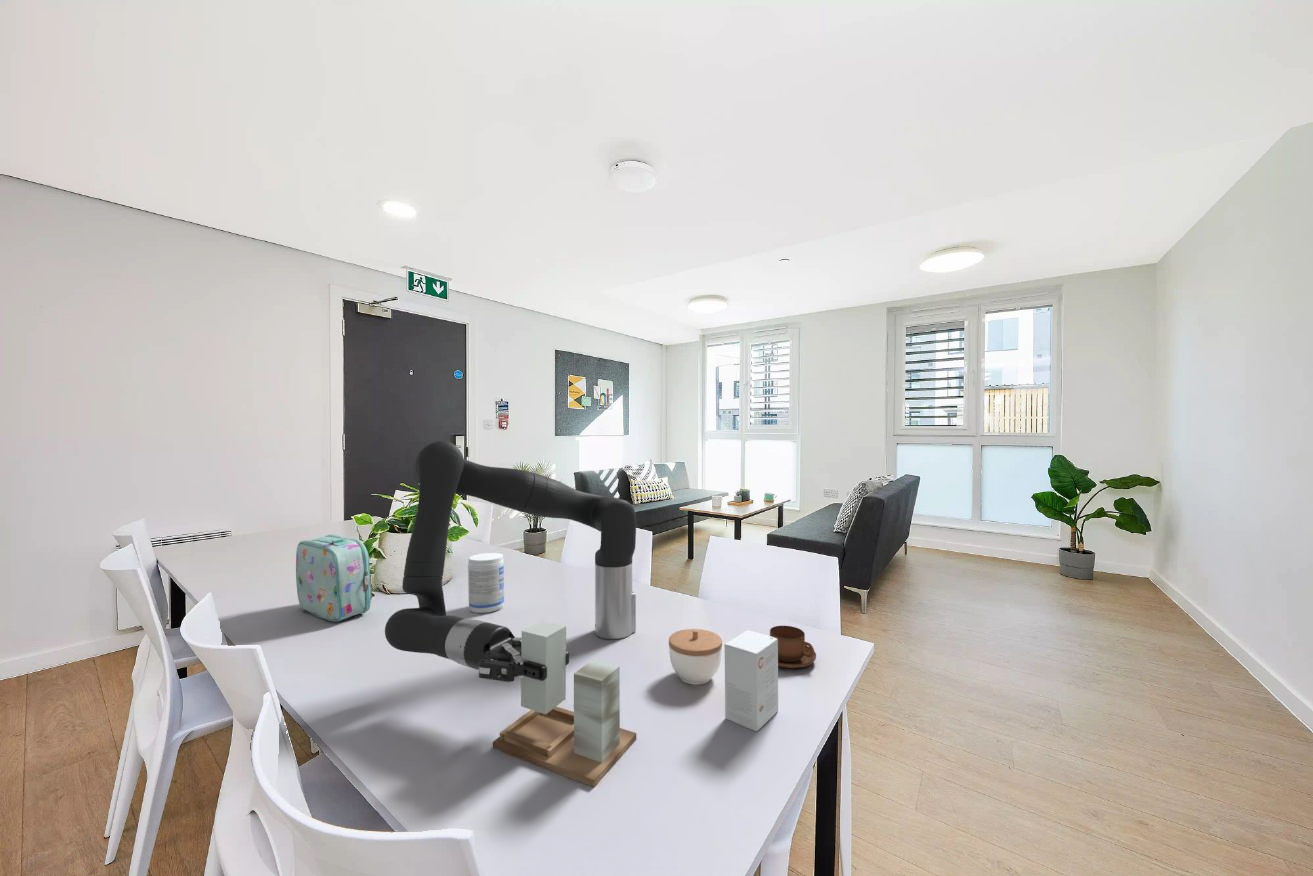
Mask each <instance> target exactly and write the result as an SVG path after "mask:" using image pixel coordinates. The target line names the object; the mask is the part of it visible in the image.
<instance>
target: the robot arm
mask: <svg viewBox="0 0 1313 876" xmlns="http://www.w3.org/2000/svg"><path fill="white" fill-rule="evenodd" d="M410 469H411V474H412V477H413V479H414V480H415V482H417V483H418V485H419V486H418V487H419V488H418V489H419V491H418V492H419V494H418V501H417V503H418V504H417V510H416V516H415V519H414V523H413V528H412V531H411V535H410V539H409V542H408V547H407V553H406V557H405V563H404V571H403V576H402V577H403V578H402V585H401V587H402V588H401V589H402V590H403V592H404V593H406V594H409V595H412V596H415V597H416V598H417V601H418V607H414V608H413V607H410V608H402V609H400V610H397V611H395V612H394V613H393V614H392V615H391V616H390V617H389V618H388V620H387V622H386V623H385V627H384V636H385V639H386V641H387V643H388V644H389V645H390V646H391V647H393V648H394V649H396V650H398V651H403V652H408V653H419V654H431V655H436V656H437V657H441V658H444V659H448V660H450V661H453V662H455V663H457V664H458V665H461V666H463V667H468V668H471V669H474V670H478V678H480V679H484V680H492V681H500V682H508V683H511V682H514V681H515V678H516V677H517V678H520V679H521V678H523V677H525V676H526V677H529V678H533V679H537V680H540V681H543V680H545V679H546V678H547V666H545V665H543V664H539V663H536V662H532V661H527V662H526V660H525V659H523V658H521V640H522V637H517V636H515V635H514V634H513V632H512V630H510V628H508V627H507V626H504V625H500V624H495V623H491V622H487V621H483V620H478V619H469V618H465V617H461V616H455V615H447V610H446V603H445V595H444V589H443V578H444V577H443V576H444V571H445V564H446V563H445V562H446V553H447V544H448V536H449V535H448V534H449V528H450V527H449V526H450V520H451V514H452V509H453V506H454V505H453V504H454V499H455V495H456V494H458V495H459V494H460V495H465V496H468V497H469V496H470V497H473V498H476V499H480V500H482V501H486V502H489V503H492V504H494V505H496V506H497V505H498V506H501V507H504V508H507V509H511V510H514V511H517V512H522V513H525V514H529V515H532V516H535V517H537V516H538V517H540V518H541V517H542V518H552V519H564V520H571V521H573V522H576V523H580V524H583V525H585V526H588V527H590V528H592V529H595V530H597V531H599V532H600V545H599V546H600V547H599V549H598V550H596V552H595V553H594V602H595V603H594V609H595V610H594V611H595V612H594V622H595V623H594V633H595V635H596V636H597V637H599V638H601V639H605V640H619V639H623V638H627V637H629V636H631V635H632V634H633V633H636V631H637V618H636V617H637V612H636V611H637V610H636V609H637V604H636V603H637V601H636V600H637V599H636V598H637V594H636V592H634V591H633V556H634V553H635V550H636V541H637V539H636V537H637V516H636V511H635V508H634V506H633V505H632V504H631V503H630V502H628V501H627V500H625V499H622V498H618V497H613V496H608V495H607V496H605V495H601V494H600V495H598V494H594V493H589V492H584V491H580V490H577V489H575V488H574V487H573V488H572V487H571V486H569V485H567V484H566V483H563V482H561V481H558V480H556V479H553V478H552V477H548V476H546V475H542V474H539V473H536V472H532V471H529V470H524V469H518V468H510V467H509V468H508V467H497V466H489V465H482V464H479V463H476V462H473V461H471V460H469V459H465V458H464V456H463V453H462V452H461V450H460V448H459V447H458V446H457V445H455V444H454V443H452V442H450V441H447V440H436V441H432V442H430V443H428V444H426V445H425V446H424V447H423V448H421V449H420V450H419V452H418V453H417V454H416V456H415V457H414V459H413V461H412V462H411V468H410ZM569 664H570V652H569V651H568V650H566V666H568V665H569ZM502 671H503V672H505V673H506V674H505V673H502Z"/></svg>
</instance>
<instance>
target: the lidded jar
mask: <svg viewBox="0 0 1313 876" xmlns="http://www.w3.org/2000/svg"><path fill="white" fill-rule="evenodd" d="M668 645H669V646H668V648H669V649H668V650H669V659H670V663H671V667H672V669H673V670H674V672H675V674H676V675H677V676H678V677H679V678H680V680H681V681H682V682H683V683H685V684H687V685H694V686H695V685H696V686H699V685H704V684H707V683H709V682H710V681H711V679H712V678H713V677H714V676H715V675H716V673H717V672H718V670H719V668H720V664H721V661H722V647H723V639H722V637H721V636H720V635H719V634H717V633H715V632H714V631H710V630H707V629H701V628H686V629H680V630H677V631H675V632H673V633H671V635H670V636H669V637H668Z"/></svg>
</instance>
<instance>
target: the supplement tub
mask: <svg viewBox="0 0 1313 876" xmlns="http://www.w3.org/2000/svg"><path fill="white" fill-rule="evenodd" d="M504 563H505V562H504V556H503V554H502V553H498V552H484V553H478V554H474V555H471V556H469V557H468V563H467V564H468V565H467V572H468V573H467V576H468V577H467V578H468V579H467V580H468V581H467V582H468V584H467V585H468V593H467V594H468V609H469V611H470V612H473V613H476V614H486V613H492V612H495V611H498V610H500V609H502V608H503V607H504V605H505V570H504V569H505V566H504V565H505V564H504Z"/></svg>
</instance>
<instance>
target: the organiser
mask: <svg viewBox="0 0 1313 876" xmlns="http://www.w3.org/2000/svg"><path fill="white" fill-rule="evenodd" d="M620 668H621V667H620V666H619V665H615V664H611V663H607V662H604V661H599V660H595V659H592V660H590V661H589V662H588V663H586V664H584V665H583V666H582V667H581V668H579V669H577V670H576V671H575V672H574V673H573V711H572V710H569V709H566V708H562V707H559V706H558V705H557V706H556V707H555V708H553V709H552V710H551V711H550V712H548V713H547V714H543V713H540V712H537V711H534V710H531V709H529V711H527V712H526V713H524V714H523V715H521V716H520V717H519V718H518V719H516V720H515V721H513V723H511V724H509V725H508V726H506V728H504V729H503V730H502V731H500V732H499V736H498V737H497V738H496V739H494V740H493V741H492V749H494V750H496V751H498V752H499V751H500V752H501V753H504V754H507V755H509V756H512V757H513V758H514V757H515V758H516V759H520V760H521V761H525V762H527V763H530V764H533V765H535V766H538V767H541V768H543V769H546V770H548V771H551V772H553V773H556V774H559V775H561V776H564V777H567V778H569V779H572V780H574V781H577V782H580V783H582V784H584V785H587V786H589V787H592V788H595V787H596V786H597V785H598V784H599V783H600V781H602V779H603V778H604V777H605V776H606V775H607V773H609V771H610V770H611V769H612V768H613V767H614V765H616V763H617V762H618V761H619V760H620V759H621V758H622V756H623V755H624V754H625V753H626V752H627V751H628V750H629V749H630V747H631V746H632V745H633V744H634V743H635V741H636V740H637V732H634V731H631V730H627V729H624V728H621V725H620V724H621V723H620V722H621V719H620V717H621V716H620V714H621V712H620V711H621V709H620V708H621V707H620V705H621V704H620V699H621V698H620V697H621V695H620V694H621V693H620V691H621V690H620V689H621V687H620V685H621V683H620V682H621V681H620V679H621V678H620V674H621V673H620V672H621V671H620Z"/></svg>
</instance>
